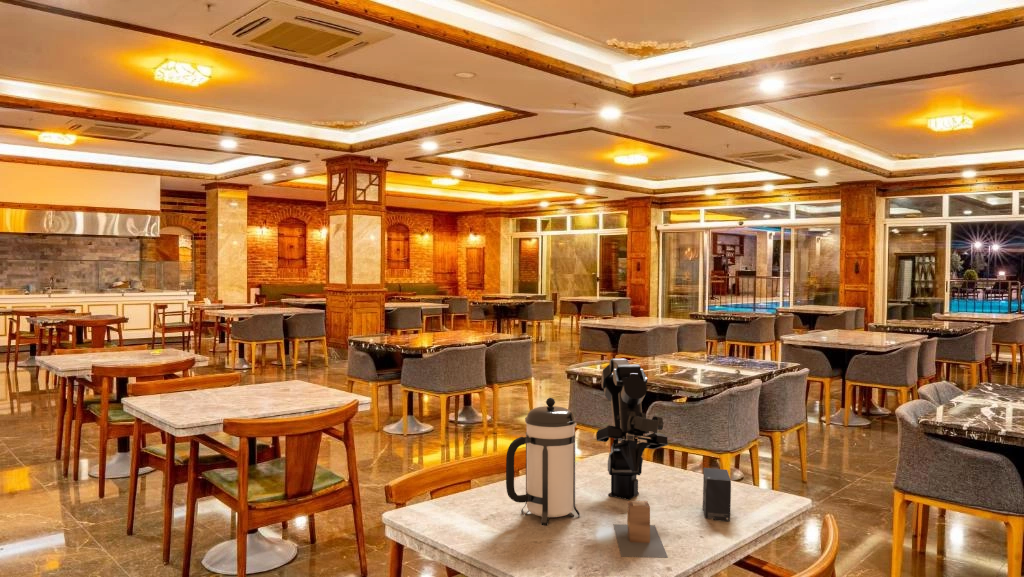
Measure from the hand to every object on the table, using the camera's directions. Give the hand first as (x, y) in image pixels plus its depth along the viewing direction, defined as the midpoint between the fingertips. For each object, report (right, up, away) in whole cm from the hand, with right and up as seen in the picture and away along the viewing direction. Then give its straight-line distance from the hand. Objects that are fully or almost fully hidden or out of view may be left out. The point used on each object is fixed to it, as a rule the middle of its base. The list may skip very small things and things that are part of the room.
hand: (634, 471), depth 176 cm
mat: (-2, -12, -15) cm, 19 cm away
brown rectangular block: (-1, -12, -14) cm, 18 cm away
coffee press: (-22, -12, +2) cm, 25 cm away
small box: (+22, -12, +4) cm, 25 cm away
